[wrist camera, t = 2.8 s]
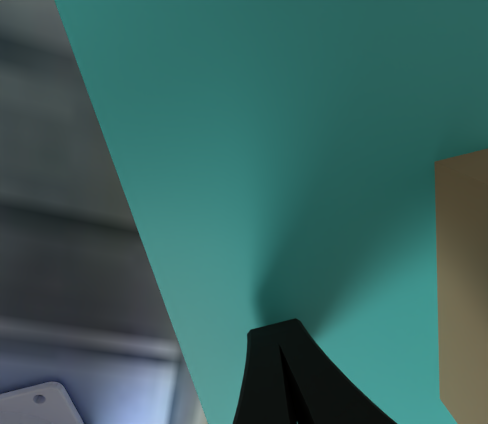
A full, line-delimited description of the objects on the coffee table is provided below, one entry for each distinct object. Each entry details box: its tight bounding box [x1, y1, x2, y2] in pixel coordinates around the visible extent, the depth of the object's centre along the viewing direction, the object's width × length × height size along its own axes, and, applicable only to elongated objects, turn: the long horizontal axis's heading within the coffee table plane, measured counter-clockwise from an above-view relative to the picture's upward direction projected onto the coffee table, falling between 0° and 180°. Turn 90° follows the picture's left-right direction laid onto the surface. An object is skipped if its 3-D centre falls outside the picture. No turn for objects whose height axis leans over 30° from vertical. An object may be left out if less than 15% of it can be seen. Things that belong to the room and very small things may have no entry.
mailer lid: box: [55, 0, 488, 424], centre depth 10 cm, size 14×18×3 cm
